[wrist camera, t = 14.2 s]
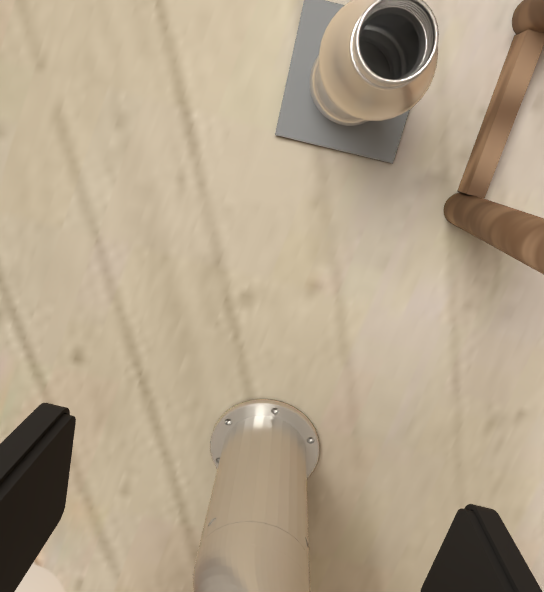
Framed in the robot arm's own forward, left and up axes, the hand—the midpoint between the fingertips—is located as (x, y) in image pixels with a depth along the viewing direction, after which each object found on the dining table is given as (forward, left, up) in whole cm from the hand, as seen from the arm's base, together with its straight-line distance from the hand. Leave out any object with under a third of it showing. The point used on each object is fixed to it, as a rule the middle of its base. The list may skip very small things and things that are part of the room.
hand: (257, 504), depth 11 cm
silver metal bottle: (+13, -2, -35) cm, 37 cm away
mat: (+13, -2, -35) cm, 38 cm away
